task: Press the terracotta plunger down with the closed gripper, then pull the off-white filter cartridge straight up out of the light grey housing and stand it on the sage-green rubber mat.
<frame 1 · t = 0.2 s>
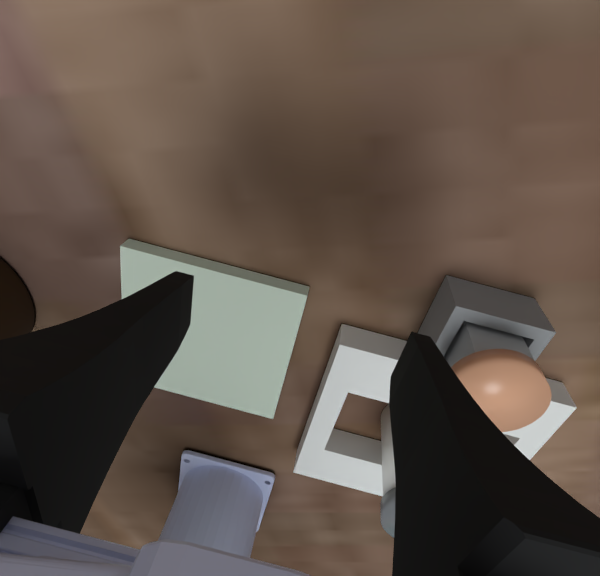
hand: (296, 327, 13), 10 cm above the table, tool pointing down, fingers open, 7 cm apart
housing: (413, 420, 28), on the table
mat: (210, 332, 27), on the table
cartridge: (413, 419, 28), resting in housing
plunger: (485, 366, 20), point 4 cm above the table, slide at 0.0 cm
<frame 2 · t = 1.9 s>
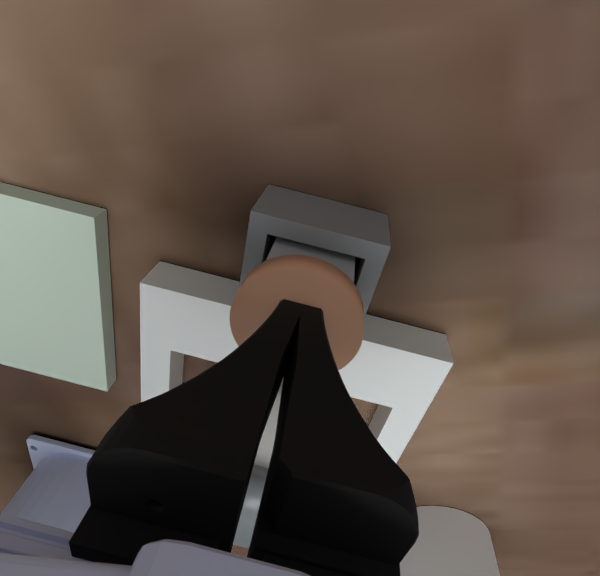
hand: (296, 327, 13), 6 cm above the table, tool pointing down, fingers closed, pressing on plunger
housing: (278, 390, 23), on the table
mat: (10, 280, 21), on the table
cartridge: (278, 390, 23), resting in housing
plunger: (304, 292, 15), point 3 cm above the table, slide at 0.5 cm, touching gripper
cylindrical container: (434, 532, 28), on the table
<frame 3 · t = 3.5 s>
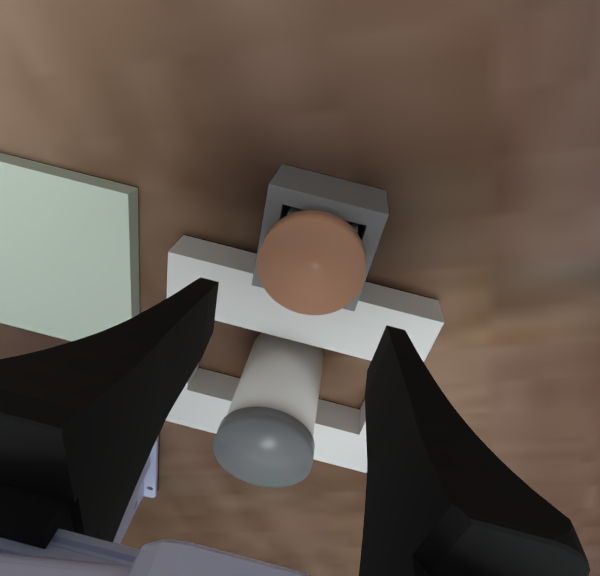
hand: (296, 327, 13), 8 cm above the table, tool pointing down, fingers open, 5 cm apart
housing: (287, 355, 25), on the table
mat: (48, 253, 24), on the table
cartridge: (287, 355, 25), resting in housing
plunger: (316, 246, 18), point 2 cm above the table, slide at 1.4 cm
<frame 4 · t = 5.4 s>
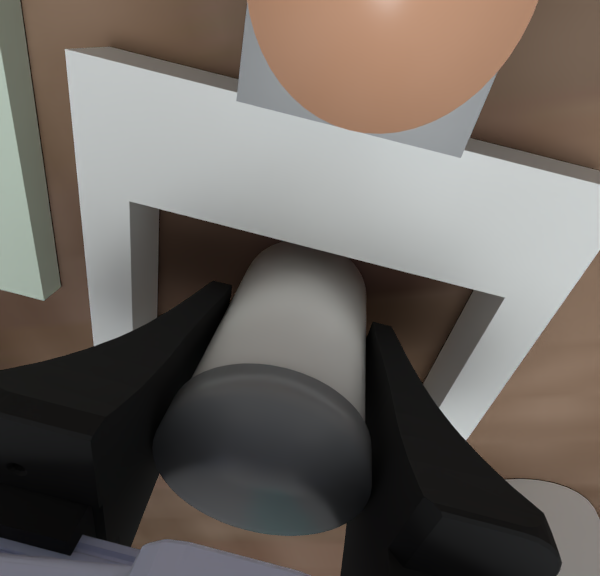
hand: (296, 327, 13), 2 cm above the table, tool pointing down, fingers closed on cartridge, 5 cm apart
housing: (303, 296, 15), on the table
cartridge: (304, 295, 15), resting in housing, touching gripper
cylindrical container: (513, 518, 20), on the table
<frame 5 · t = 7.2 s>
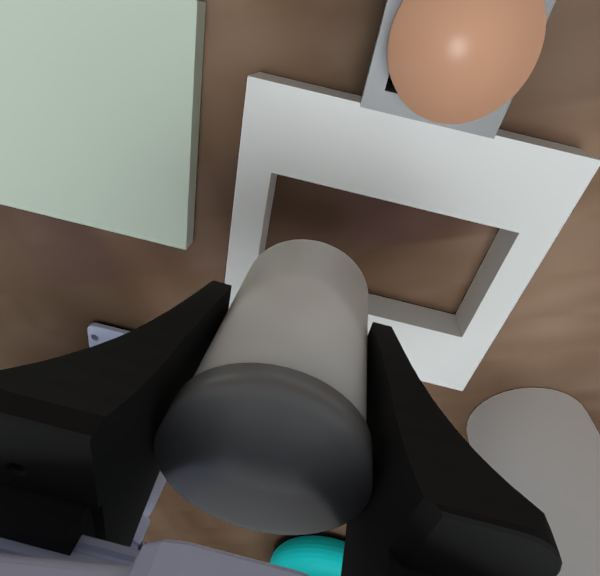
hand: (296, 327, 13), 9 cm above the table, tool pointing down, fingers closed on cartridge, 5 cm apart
housing: (373, 243, 21), on the table
cyan rounded piece: (324, 555, 39), on the table
mat: (87, 113, 19), on the table
cartridge: (305, 295, 15), point 7 cm above the table, touching gripper
plunger: (451, 43, 14), point 2 cm above the table, slide at 1.4 cm
cylindrical container: (524, 425, 26), on the table
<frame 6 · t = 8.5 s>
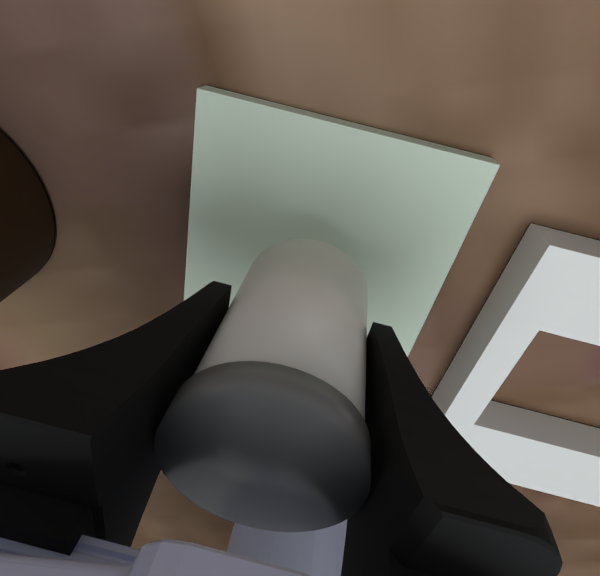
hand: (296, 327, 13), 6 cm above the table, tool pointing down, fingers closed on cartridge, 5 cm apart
mat: (315, 249, 18), on the table
cartridge: (305, 294, 15), point 4 cm above the table, touching gripper
when the fingers open (4 cm above the table, at t = 9.2 s): cartridge drops 1 cm, resting on mat.
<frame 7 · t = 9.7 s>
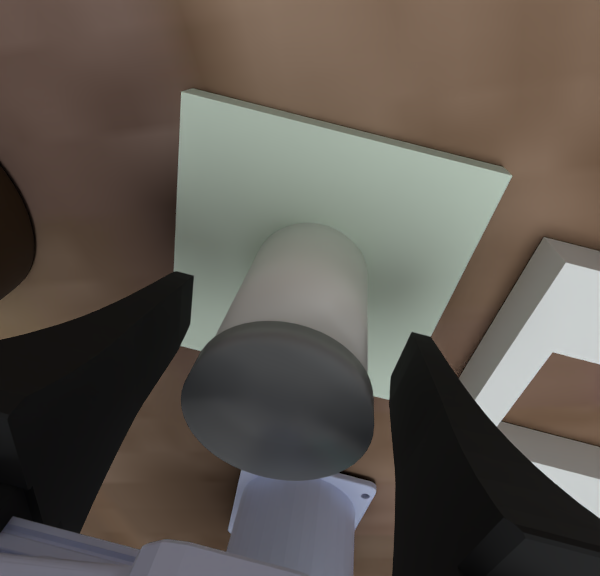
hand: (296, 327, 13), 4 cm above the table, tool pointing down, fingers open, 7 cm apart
mat: (312, 263, 17), on the table
cartridge: (310, 275, 16), point 1 cm above the table, touching mat
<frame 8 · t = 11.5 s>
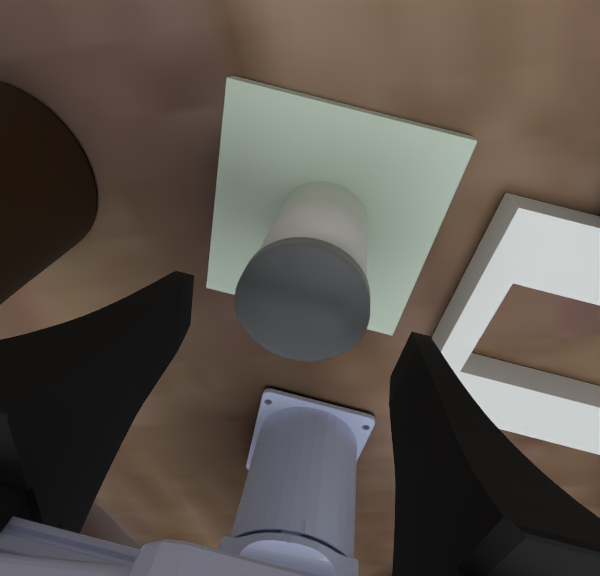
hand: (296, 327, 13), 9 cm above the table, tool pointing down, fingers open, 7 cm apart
housing: (571, 333, 23), on the table
mat: (323, 217, 21), on the table
cartridge: (322, 226, 20), point 1 cm above the table, touching mat
olive oil: (18, 173, 23), on the table
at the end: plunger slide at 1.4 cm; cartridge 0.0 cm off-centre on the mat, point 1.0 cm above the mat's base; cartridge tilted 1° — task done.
